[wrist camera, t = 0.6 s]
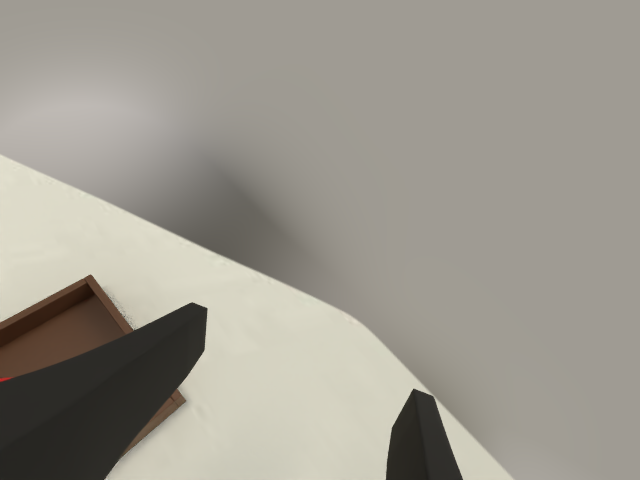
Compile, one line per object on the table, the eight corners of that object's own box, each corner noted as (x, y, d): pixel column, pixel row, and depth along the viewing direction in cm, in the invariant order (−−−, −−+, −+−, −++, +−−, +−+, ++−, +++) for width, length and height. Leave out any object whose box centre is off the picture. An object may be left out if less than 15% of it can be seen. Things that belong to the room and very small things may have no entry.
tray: (-124, 668, 16) (-171, 693, 14) (-189, 448, 20) (-233, 446, 18) (186, 401, 25) (181, 395, 23) (100, 286, 29) (90, 273, 27)
